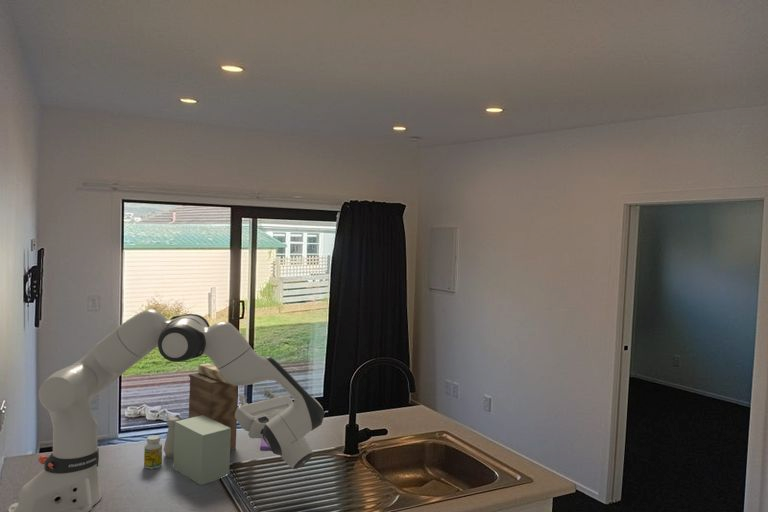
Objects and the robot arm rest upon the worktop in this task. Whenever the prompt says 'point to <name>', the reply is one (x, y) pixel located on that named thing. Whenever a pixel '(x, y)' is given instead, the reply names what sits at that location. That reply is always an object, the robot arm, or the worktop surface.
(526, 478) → the worktop surface
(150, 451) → the supplement bottle
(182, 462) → the pale green block
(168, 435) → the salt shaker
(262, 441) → the sponges
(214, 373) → the beech bar
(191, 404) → the walnut block
